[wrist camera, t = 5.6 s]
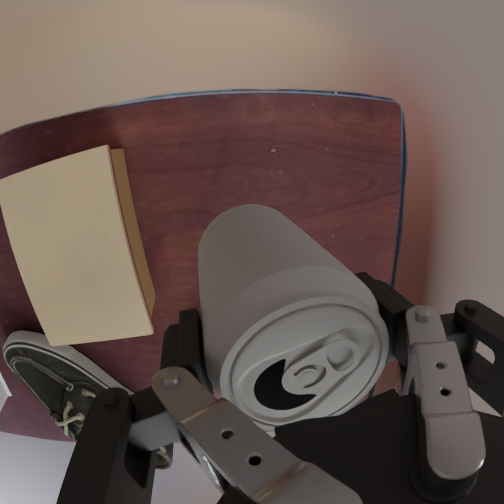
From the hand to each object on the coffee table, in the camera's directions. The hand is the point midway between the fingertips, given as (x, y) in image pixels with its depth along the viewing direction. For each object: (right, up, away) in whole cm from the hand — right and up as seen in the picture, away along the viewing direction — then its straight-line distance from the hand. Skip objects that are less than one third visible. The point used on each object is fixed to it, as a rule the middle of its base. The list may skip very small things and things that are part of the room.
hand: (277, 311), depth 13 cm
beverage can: (-1, +3, +7) cm, 8 cm away
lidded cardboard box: (-20, +4, +21) cm, 29 cm away
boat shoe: (-26, -18, +28) cm, 42 cm away
